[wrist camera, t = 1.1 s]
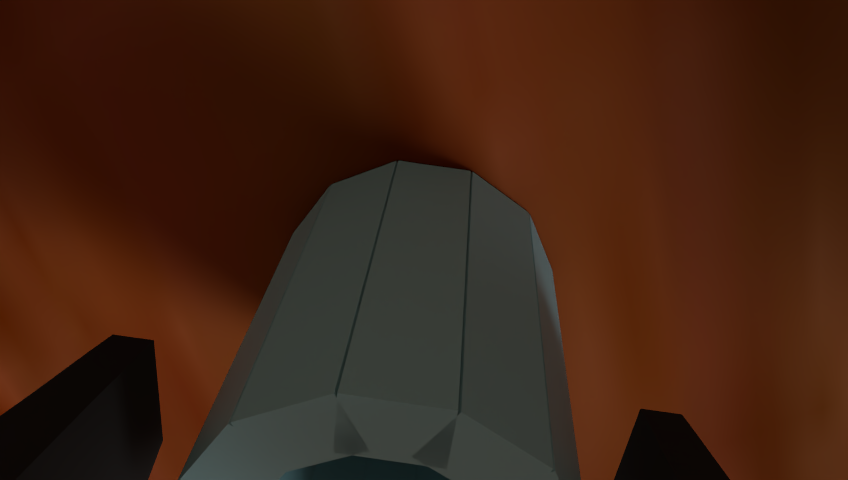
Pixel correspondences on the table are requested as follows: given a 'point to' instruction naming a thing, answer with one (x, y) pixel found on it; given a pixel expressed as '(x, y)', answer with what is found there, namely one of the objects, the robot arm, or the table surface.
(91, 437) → the robot arm
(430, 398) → the grey-green cylinder
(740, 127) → the table surface
